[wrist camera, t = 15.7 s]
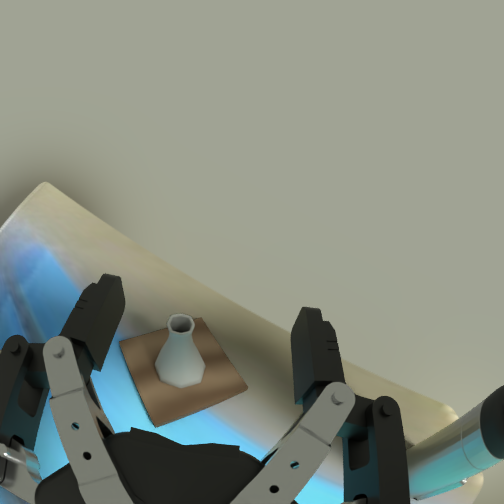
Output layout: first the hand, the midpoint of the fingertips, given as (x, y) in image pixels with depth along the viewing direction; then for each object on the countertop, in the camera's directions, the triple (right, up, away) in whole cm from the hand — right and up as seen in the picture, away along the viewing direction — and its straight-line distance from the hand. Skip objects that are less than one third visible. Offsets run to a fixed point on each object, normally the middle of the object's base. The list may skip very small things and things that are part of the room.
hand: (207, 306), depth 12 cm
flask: (-8, -14, +24) cm, 29 cm away
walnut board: (-8, -14, +24) cm, 30 cm away
